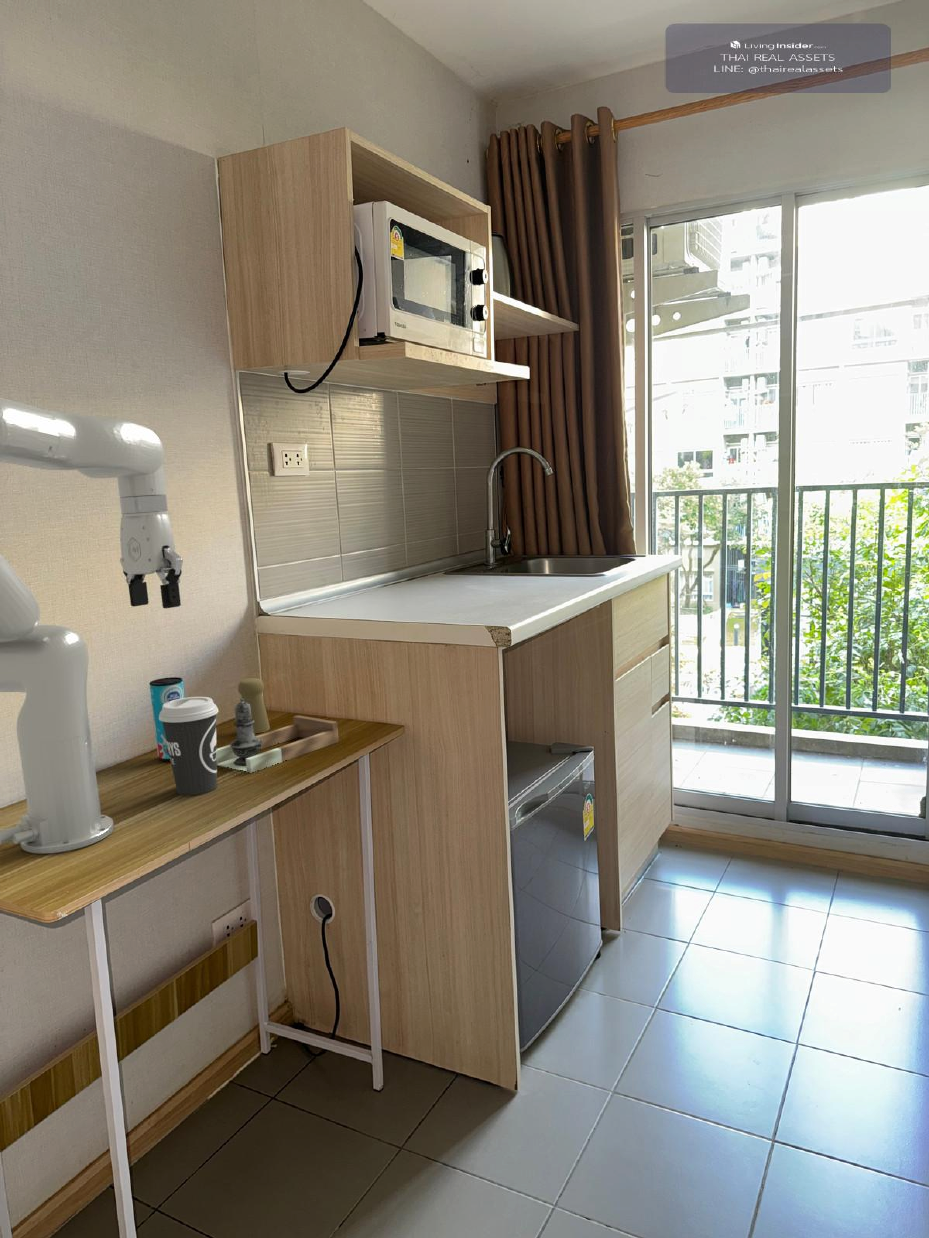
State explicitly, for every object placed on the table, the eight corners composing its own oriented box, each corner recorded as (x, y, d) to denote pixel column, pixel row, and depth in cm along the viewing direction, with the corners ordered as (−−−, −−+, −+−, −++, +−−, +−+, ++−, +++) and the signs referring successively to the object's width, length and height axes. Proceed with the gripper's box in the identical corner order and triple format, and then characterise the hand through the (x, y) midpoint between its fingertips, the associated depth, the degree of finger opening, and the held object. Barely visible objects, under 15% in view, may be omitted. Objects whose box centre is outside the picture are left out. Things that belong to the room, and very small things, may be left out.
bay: (251, 773, 154) (249, 751, 154) (212, 763, 161) (209, 742, 161) (338, 741, 171) (337, 721, 170) (299, 734, 178) (297, 715, 177)
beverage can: (166, 764, 163) (156, 685, 161) (153, 758, 167) (144, 681, 165) (196, 756, 167) (187, 679, 164) (183, 750, 171) (174, 675, 169)
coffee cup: (199, 776, 154) (190, 693, 152) (238, 783, 149) (229, 697, 147) (155, 794, 146) (144, 707, 144) (195, 802, 141) (184, 711, 139)
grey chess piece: (268, 756, 163) (262, 693, 162) (258, 766, 158) (251, 701, 156) (238, 756, 164) (231, 694, 162) (226, 766, 158) (220, 702, 156)
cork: (239, 728, 185) (234, 678, 183) (268, 725, 187) (263, 674, 185) (241, 736, 179) (236, 683, 178) (271, 732, 181) (266, 680, 179)
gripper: (97, 510, 152) (108, 607, 155) (153, 506, 141) (165, 611, 144) (136, 507, 158) (147, 601, 160) (193, 504, 147) (203, 605, 150)
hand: (155, 606), depth 152 cm, fingers open, 9 cm apart
